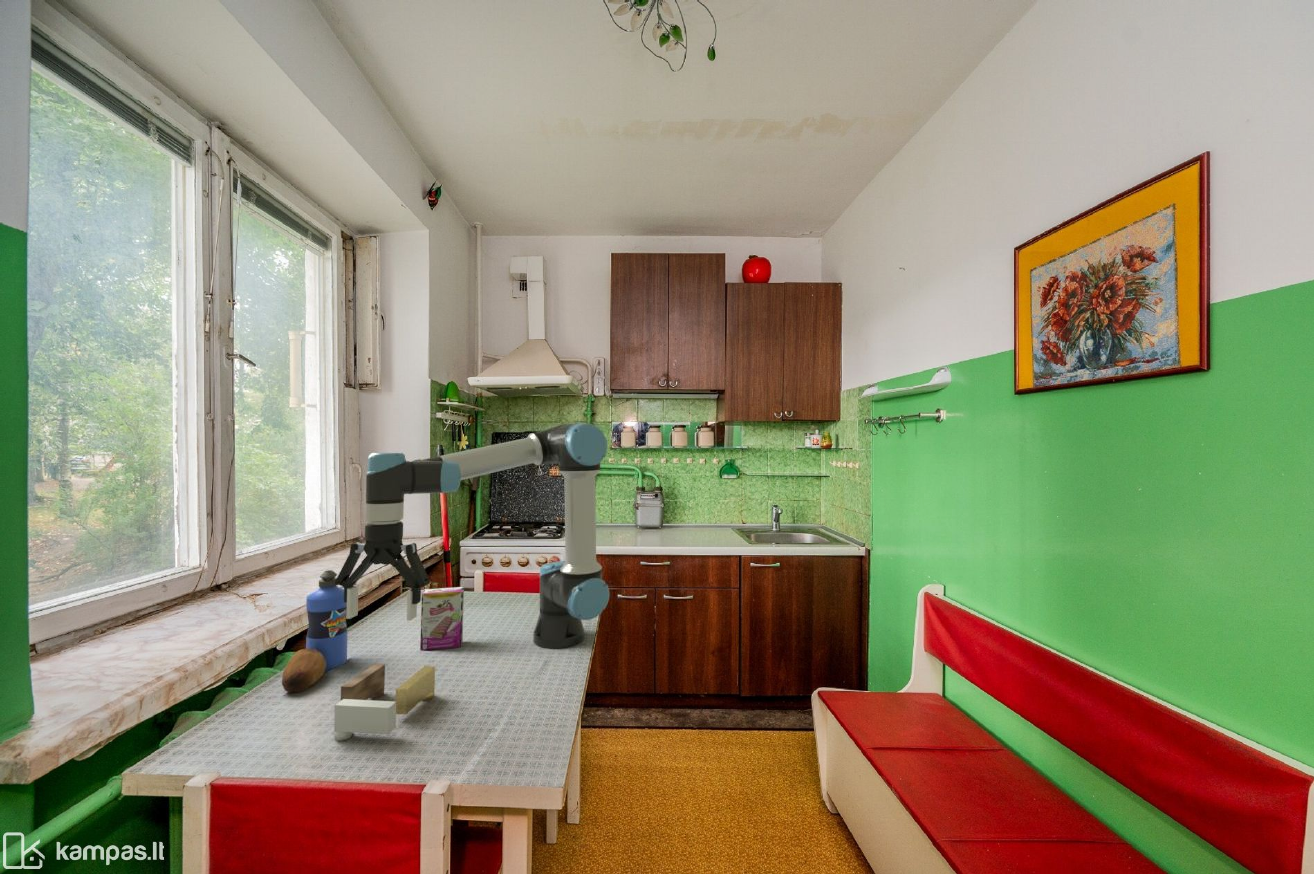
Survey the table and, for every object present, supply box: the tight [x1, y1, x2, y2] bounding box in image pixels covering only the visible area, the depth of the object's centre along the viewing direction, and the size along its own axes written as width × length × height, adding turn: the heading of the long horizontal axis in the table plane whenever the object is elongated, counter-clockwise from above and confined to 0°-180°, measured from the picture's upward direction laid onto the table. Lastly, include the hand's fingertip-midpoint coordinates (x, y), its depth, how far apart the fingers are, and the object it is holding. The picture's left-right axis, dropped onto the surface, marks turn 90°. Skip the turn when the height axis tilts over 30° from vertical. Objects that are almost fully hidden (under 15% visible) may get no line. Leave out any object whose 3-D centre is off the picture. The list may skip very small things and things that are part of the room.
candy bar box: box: [419, 586, 465, 652], centre depth 145 cm, size 11×5×16 cm, turn 108°
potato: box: [281, 647, 326, 694], centre depth 120 cm, size 8×13×8 cm
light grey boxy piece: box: [333, 699, 397, 742], centre depth 97 cm, size 12×3×7 cm, turn 85°
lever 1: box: [340, 663, 386, 701], centre depth 110 cm, size 12×3×7 cm, turn 175°
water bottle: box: [305, 570, 348, 675], centre depth 131 cm, size 9×9×25 cm
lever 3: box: [394, 665, 436, 715], centre depth 109 cm, size 12×3×7 cm, turn 175°
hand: (381, 617), depth 111 cm, fingers open, 13 cm apart
